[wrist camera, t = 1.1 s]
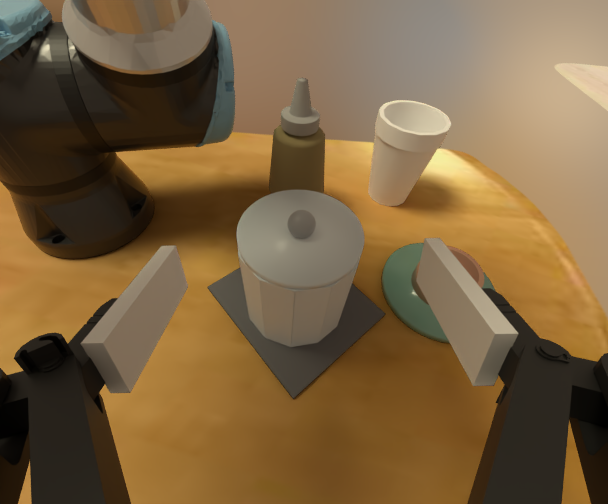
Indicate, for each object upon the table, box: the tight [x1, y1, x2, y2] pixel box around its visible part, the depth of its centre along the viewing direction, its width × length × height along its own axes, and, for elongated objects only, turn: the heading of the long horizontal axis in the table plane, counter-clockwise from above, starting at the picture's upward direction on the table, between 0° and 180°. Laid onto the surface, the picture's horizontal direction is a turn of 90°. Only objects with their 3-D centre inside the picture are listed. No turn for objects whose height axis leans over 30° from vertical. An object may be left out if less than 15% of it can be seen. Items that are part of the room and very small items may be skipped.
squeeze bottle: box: [269, 78, 325, 194], centre depth 39 cm, size 8×8×18 cm
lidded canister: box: [236, 190, 364, 347], centre depth 29 cm, size 11×11×14 cm
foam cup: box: [368, 100, 451, 206], centre depth 44 cm, size 10×9×13 cm
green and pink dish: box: [381, 243, 495, 343], centre depth 36 cm, size 14×14×5 cm
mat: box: [208, 268, 385, 399], centre depth 35 cm, size 16×14×1 cm
